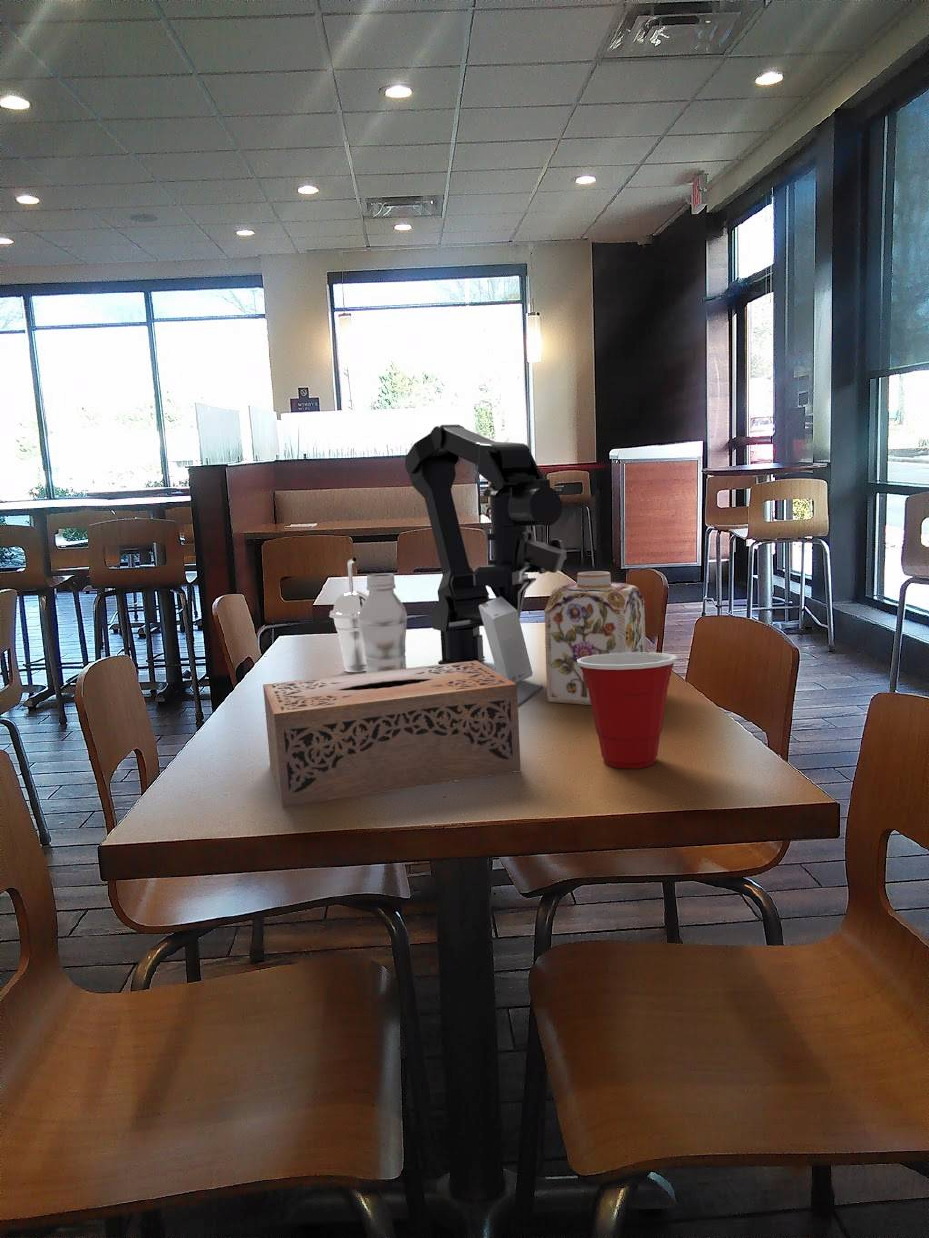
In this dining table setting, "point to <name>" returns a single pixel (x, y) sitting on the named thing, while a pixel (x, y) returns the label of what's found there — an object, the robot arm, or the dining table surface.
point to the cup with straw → (350, 626)
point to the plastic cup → (628, 704)
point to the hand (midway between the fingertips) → (514, 624)
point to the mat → (526, 691)
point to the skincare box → (506, 639)
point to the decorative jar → (589, 630)
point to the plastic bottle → (383, 625)
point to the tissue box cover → (390, 730)
